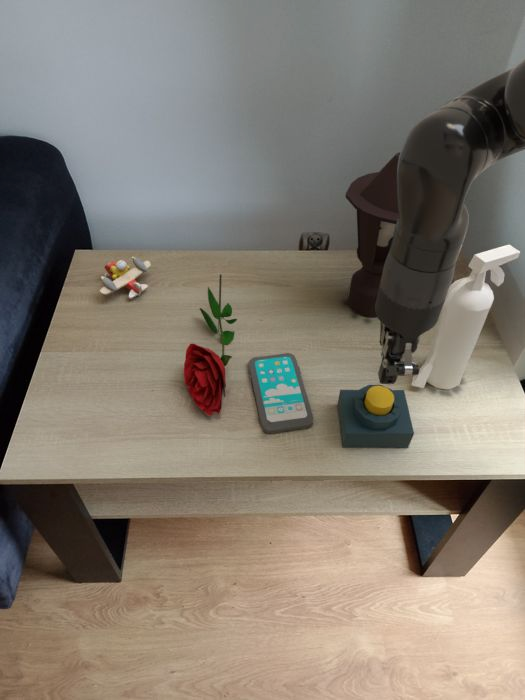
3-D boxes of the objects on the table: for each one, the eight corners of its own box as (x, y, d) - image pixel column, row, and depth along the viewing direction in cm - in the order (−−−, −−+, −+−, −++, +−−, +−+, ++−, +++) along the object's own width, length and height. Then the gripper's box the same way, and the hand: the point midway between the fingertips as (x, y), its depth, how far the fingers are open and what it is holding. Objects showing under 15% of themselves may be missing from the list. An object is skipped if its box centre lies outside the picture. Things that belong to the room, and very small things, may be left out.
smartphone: (262, 431, 77) (246, 357, 87) (262, 434, 78) (246, 361, 88) (316, 423, 78) (295, 351, 88) (316, 426, 79) (294, 355, 89)
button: (389, 393, 77) (391, 385, 75) (393, 416, 74) (396, 407, 73) (362, 393, 77) (364, 385, 75) (366, 415, 74) (368, 407, 73)
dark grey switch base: (398, 404, 82) (407, 381, 78) (408, 448, 77) (417, 426, 73) (337, 404, 82) (341, 381, 78) (342, 447, 77) (347, 425, 72)
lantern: (418, 326, 94) (468, 177, 72) (340, 334, 93) (367, 184, 70) (393, 275, 104) (431, 129, 82) (322, 281, 103) (341, 135, 80)
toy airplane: (108, 274, 103) (100, 248, 98) (153, 273, 104) (148, 247, 99) (101, 305, 97) (93, 279, 92) (149, 303, 98) (143, 277, 93)
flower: (202, 248, 91) (194, 390, 73) (249, 265, 94) (253, 405, 76) (183, 280, 97) (171, 418, 79) (228, 295, 101) (227, 431, 83)
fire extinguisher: (394, 374, 87) (432, 256, 68) (450, 351, 90) (501, 233, 72) (419, 403, 83) (467, 286, 64) (477, 378, 86) (538, 260, 68)
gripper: (462, 325, 54) (423, 419, 66) (433, 249, 62) (404, 344, 75) (391, 325, 54) (365, 419, 66) (372, 249, 62) (353, 344, 75)
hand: (386, 379), depth 71 cm, fingers closed
